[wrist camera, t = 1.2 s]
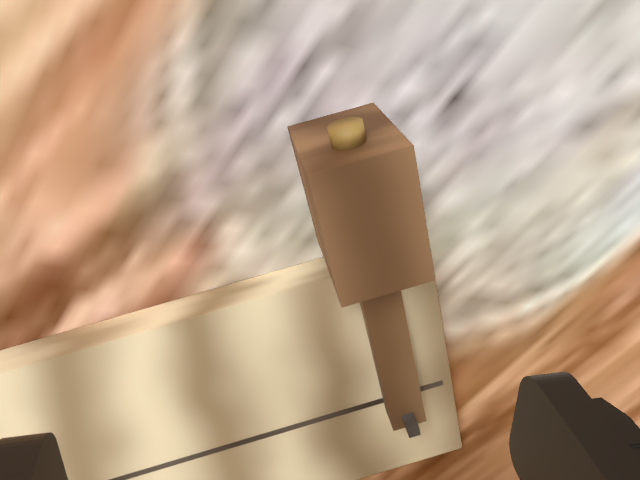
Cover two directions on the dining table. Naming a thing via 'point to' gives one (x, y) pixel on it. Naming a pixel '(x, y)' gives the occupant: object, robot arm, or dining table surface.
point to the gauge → (370, 236)
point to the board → (230, 387)
